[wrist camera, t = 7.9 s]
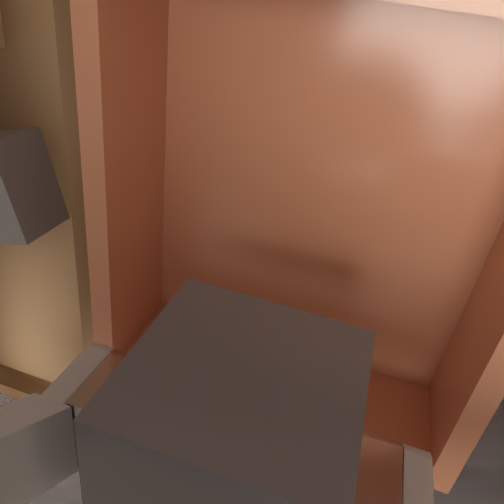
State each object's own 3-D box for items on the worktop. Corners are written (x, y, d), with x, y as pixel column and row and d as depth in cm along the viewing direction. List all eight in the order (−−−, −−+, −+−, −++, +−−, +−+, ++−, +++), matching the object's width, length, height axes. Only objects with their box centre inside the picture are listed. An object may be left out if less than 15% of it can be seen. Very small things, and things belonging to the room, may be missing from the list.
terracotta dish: (152, 307, 17) (95, 372, 14) (156, -65, 11) (62, -87, 8) (441, 395, 15) (447, 493, 12) (631, -3, 9) (734, -2, 6)
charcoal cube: (180, 405, 12) (89, 563, 9) (188, 277, 10) (73, 420, 7) (332, 457, 11) (296, 653, 8) (375, 330, 9) (351, 524, 6)
